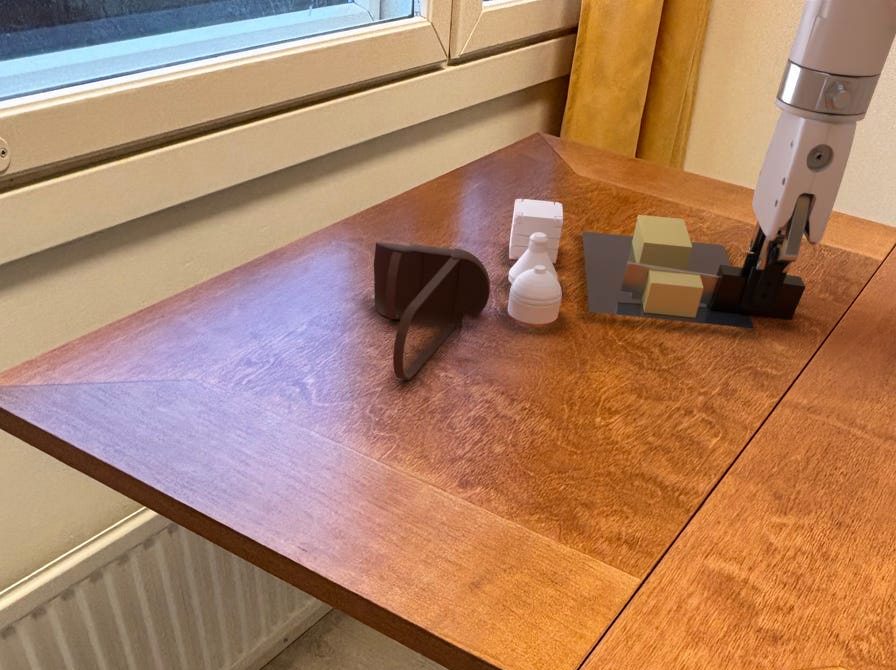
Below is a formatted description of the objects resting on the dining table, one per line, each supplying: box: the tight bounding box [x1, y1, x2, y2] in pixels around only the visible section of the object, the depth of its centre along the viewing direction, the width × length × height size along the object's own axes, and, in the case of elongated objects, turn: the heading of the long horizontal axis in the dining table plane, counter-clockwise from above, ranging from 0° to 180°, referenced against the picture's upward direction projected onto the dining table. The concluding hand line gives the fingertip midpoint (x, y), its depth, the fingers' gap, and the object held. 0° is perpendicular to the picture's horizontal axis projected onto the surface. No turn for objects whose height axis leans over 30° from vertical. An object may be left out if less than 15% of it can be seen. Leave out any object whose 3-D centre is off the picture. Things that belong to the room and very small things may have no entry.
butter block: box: [632, 214, 692, 270], centre depth 95 cm, size 5×8×3 cm, turn 174°
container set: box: [507, 198, 564, 325], centre depth 89 cm, size 20×5×6 cm, turn 175°
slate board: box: [582, 230, 755, 330], centre depth 94 cm, size 16×21×1 cm
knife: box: [620, 262, 806, 321], centre depth 87 cm, size 17×2×4 cm, turn 84°
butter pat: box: [642, 270, 704, 318], centre depth 87 cm, size 5×3×3 cm, turn 84°
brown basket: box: [373, 241, 491, 381], centre depth 79 cm, size 18×12×7 cm, turn 170°
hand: (753, 301), depth 88 cm, fingers closed on knife, 2 cm apart
